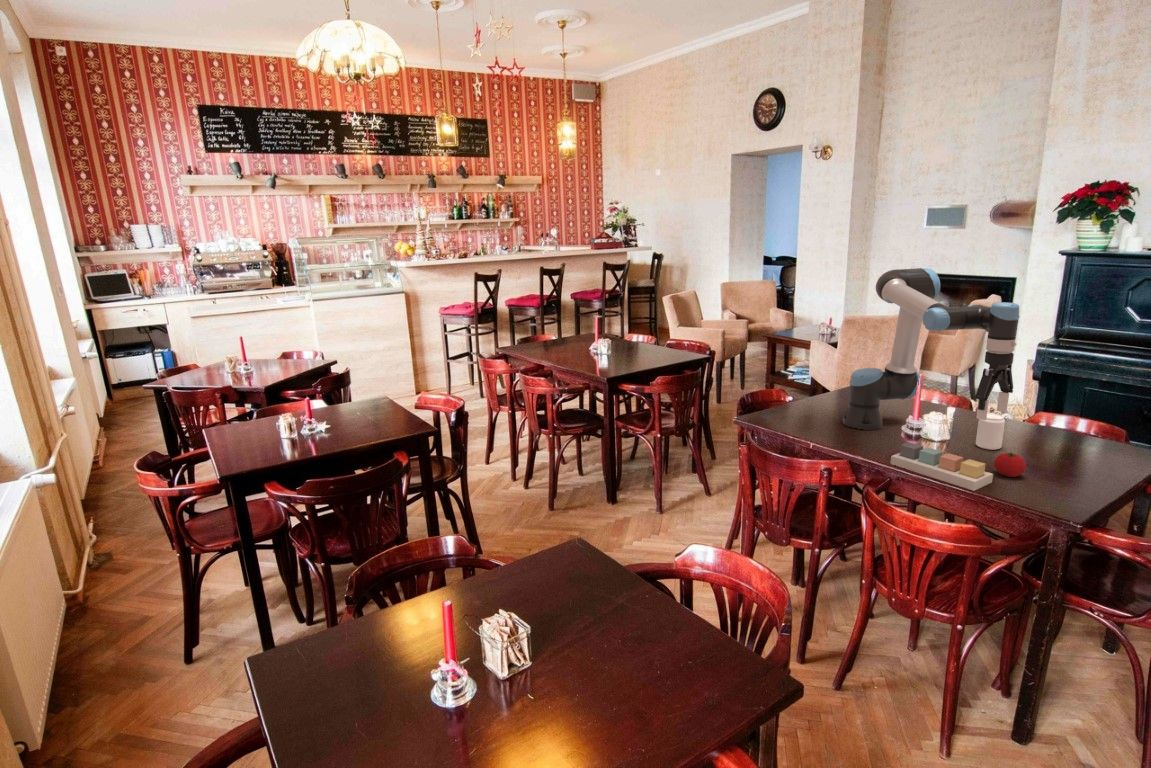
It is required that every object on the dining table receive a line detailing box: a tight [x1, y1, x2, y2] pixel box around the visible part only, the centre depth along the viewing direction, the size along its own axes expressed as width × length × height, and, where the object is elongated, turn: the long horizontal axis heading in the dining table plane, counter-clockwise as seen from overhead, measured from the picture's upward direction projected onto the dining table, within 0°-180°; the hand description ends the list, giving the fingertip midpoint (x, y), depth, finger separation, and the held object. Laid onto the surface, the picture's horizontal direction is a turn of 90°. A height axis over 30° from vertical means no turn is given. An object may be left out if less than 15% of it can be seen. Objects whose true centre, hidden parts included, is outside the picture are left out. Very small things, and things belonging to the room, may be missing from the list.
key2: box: [919, 447, 944, 466], centre depth 214 cm, size 5×5×4 cm
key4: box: [960, 458, 986, 479], centre depth 203 cm, size 5×5×4 cm
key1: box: [899, 441, 924, 460], centre depth 220 cm, size 5×5×4 cm
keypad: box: [889, 452, 994, 492], centre depth 212 cm, size 28×11×3 cm, turn 32°
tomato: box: [993, 452, 1027, 478], centre depth 208 cm, size 9×9×8 cm
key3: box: [939, 452, 964, 472], centre depth 208 cm, size 5×5×4 cm
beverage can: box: [975, 412, 1006, 451], centre depth 232 cm, size 8×8×12 cm
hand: (991, 415), depth 206 cm, fingers open, 13 cm apart
